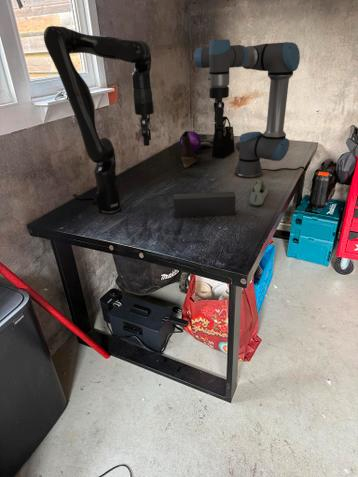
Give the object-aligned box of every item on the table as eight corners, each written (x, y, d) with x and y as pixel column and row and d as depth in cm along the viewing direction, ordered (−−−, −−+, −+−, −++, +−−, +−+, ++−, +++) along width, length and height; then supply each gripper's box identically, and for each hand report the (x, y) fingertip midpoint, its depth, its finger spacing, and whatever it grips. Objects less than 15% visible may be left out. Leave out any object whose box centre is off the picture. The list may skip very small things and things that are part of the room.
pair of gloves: (199, 150, 238) (199, 142, 236) (185, 142, 259) (184, 136, 256) (235, 144, 248) (235, 136, 245) (218, 137, 269) (218, 130, 266)
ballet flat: (269, 188, 169) (270, 173, 165) (265, 208, 149) (266, 191, 145) (252, 187, 171) (253, 172, 167) (246, 206, 151) (247, 190, 147)
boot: (199, 157, 223) (198, 126, 213) (193, 168, 203) (192, 135, 193) (186, 157, 225) (185, 126, 215) (179, 168, 205) (177, 135, 195)
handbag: (223, 159, 216) (223, 119, 204) (210, 157, 220) (210, 119, 208) (235, 151, 231) (236, 113, 218) (223, 150, 235) (224, 113, 223)
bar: (233, 209, 150) (233, 191, 145) (234, 214, 145) (235, 196, 141) (175, 212, 150) (173, 194, 146) (174, 217, 146) (173, 198, 141)
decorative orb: (204, 151, 235) (204, 129, 228) (194, 156, 225) (193, 134, 217) (186, 149, 243) (186, 128, 235) (175, 154, 232) (174, 132, 224)
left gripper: (136, 98, 134) (140, 139, 142) (131, 104, 121) (136, 148, 129) (154, 97, 133) (157, 138, 141) (151, 102, 121) (155, 147, 129)
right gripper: (208, 84, 137) (208, 136, 148) (210, 90, 115) (210, 150, 126) (226, 83, 137) (225, 135, 147) (231, 89, 115) (230, 150, 125)
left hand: (147, 142), depth 135 cm, fingers open, 8 cm apart
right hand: (218, 142), depth 137 cm, fingers open, 13 cm apart
